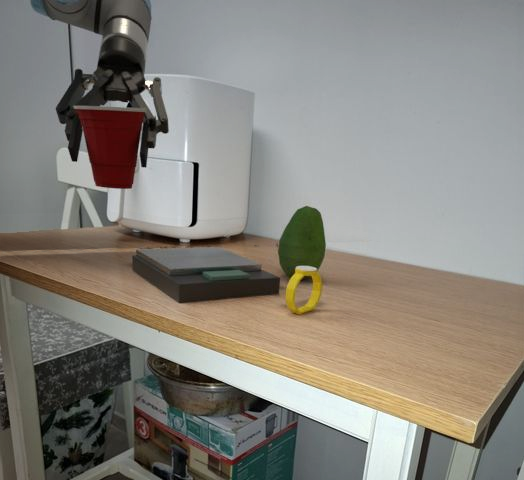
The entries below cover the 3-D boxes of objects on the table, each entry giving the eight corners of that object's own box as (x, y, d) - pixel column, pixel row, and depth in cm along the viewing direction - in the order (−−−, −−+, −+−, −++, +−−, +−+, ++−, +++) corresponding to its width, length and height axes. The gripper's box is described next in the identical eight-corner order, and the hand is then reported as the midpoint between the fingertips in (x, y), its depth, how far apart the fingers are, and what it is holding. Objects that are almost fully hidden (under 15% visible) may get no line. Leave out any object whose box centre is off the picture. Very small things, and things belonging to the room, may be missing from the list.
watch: (308, 305, 68) (313, 263, 65) (323, 310, 66) (329, 267, 64) (279, 312, 64) (283, 267, 61) (295, 318, 62) (300, 272, 60)
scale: (132, 270, 79) (131, 248, 77) (220, 266, 87) (220, 246, 86) (178, 302, 64) (179, 276, 63) (278, 293, 72) (281, 270, 71)
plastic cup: (64, 182, 78) (58, 98, 73) (123, 184, 85) (122, 108, 81) (100, 190, 71) (96, 99, 67) (160, 191, 79) (161, 109, 74)
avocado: (330, 282, 82) (340, 209, 77) (292, 285, 78) (300, 208, 73) (303, 272, 88) (310, 203, 83) (266, 274, 84) (272, 202, 79)
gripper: (189, 83, 87) (183, 181, 78) (60, 70, 84) (38, 169, 76) (189, 43, 80) (181, 145, 72) (48, 27, 78) (22, 131, 69)
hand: (108, 157), depth 74 cm, fingers closed on plastic cup, 10 cm apart
